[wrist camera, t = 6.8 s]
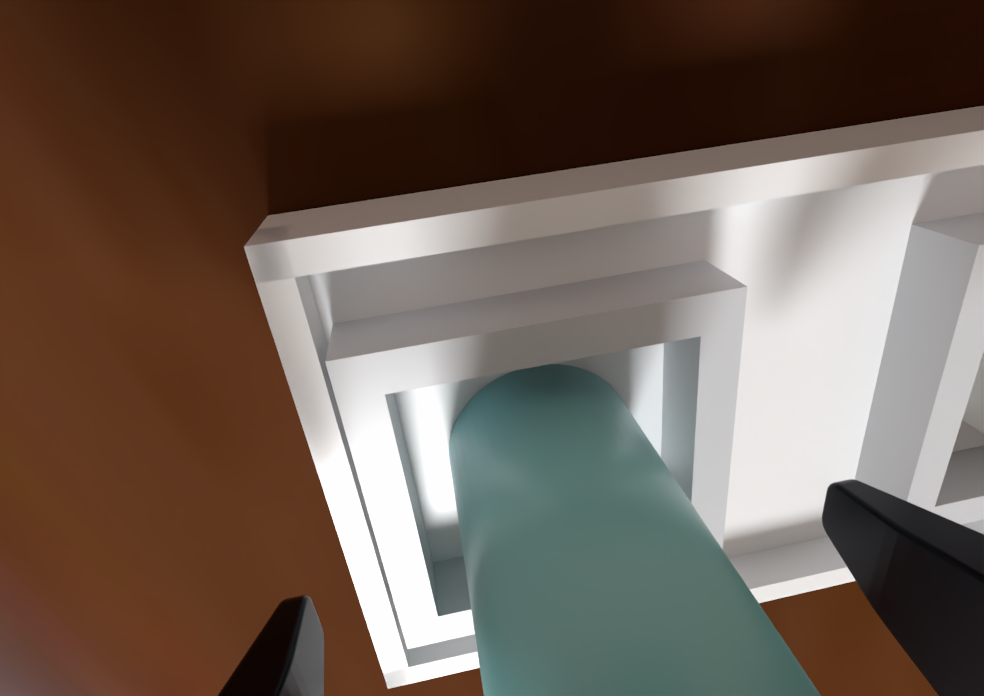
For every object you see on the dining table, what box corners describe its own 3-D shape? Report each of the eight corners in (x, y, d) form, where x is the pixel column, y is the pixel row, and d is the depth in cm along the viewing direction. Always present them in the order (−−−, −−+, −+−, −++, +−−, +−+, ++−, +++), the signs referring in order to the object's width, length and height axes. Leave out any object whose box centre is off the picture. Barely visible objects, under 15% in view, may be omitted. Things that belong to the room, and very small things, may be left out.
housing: (1234, 67, 12) (1419, 68, 10) (1061, 469, 17) (1159, 528, 15) (268, 215, 11) (236, 256, 8) (387, 617, 16) (388, 709, 13)
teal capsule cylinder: (628, 348, 12) (932, 723, 5) (628, 497, 14) (852, 910, 7) (435, 383, 11) (496, 830, 5) (462, 530, 13) (533, 998, 7)
